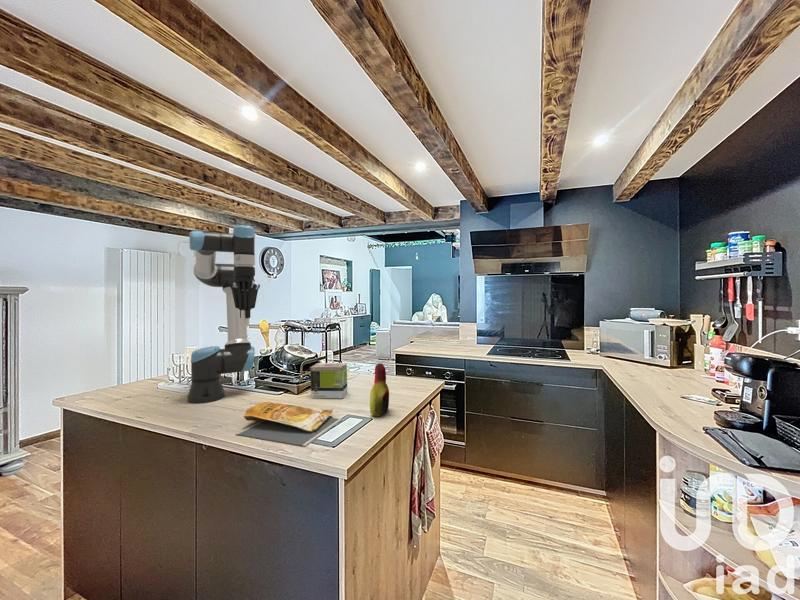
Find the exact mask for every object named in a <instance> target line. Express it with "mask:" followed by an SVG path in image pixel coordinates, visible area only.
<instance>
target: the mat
mask: <svg viewBox="0 0 800 600" xmlns="http://www.w3.org/2000/svg"><path fill="white" fill-rule="evenodd" d="M341 421H343V418H338V417H337V418H336V417H335V418H334V417H330V416H329V417H328V418H327V419H326V420H325V421H324V422H323V423H322V424H321V425H320V426H319V427H318V428H317V429H316V430H315V431H313V432H309V431H306V430H303V429H300V428H298V427H294V426H291V425H287V424H283V423H280V422H264V421H257V422H256V423H254V424H252V425H250V426H249V427H246V428H245V429H242V430H241V431H238V432H237V433H235V436H240V437H245V438H251V439H258V440H263V441H270V442H275V443H280V444H286V445H292V446H296V447H297V446H298V447H303V448H304V447H307V446H309V445H310V444H311V443H312V442H314V441H315V440H317V439H318V438H319V437H321V436H322V435H324V434H325V433H326V432H328V431H329V430H331V429H332V428H334V427H335V426H336V425H338V424H339V423H340V422H341Z"/></svg>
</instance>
